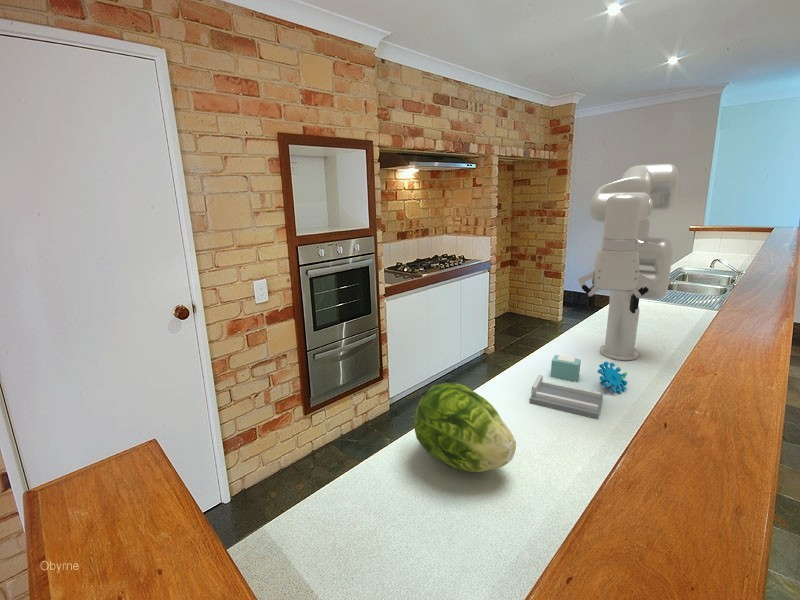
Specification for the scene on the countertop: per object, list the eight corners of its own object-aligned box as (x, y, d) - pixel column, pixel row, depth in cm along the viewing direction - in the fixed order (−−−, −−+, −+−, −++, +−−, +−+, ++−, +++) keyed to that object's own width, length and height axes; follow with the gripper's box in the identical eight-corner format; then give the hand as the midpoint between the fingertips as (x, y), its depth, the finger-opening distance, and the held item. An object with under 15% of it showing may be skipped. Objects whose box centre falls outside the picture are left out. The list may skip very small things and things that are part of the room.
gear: (610, 393, 116) (595, 361, 121) (595, 399, 121) (582, 368, 126) (637, 390, 120) (622, 359, 125) (622, 396, 125) (608, 366, 130)
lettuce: (492, 509, 79) (495, 427, 74) (399, 463, 93) (396, 392, 88) (527, 460, 92) (531, 388, 87) (442, 426, 106) (441, 362, 101)
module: (553, 371, 135) (554, 353, 133) (579, 375, 131) (580, 358, 129) (550, 377, 131) (551, 359, 129) (576, 382, 127) (578, 364, 125)
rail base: (539, 385, 126) (539, 372, 125) (602, 398, 117) (604, 384, 116) (529, 403, 116) (530, 389, 115) (598, 419, 107) (599, 404, 106)
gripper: (654, 243, 100) (645, 308, 105) (579, 243, 106) (574, 304, 110) (663, 248, 94) (653, 317, 98) (582, 247, 99) (577, 313, 103)
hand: (611, 310), depth 104 cm, fingers open, 9 cm apart
